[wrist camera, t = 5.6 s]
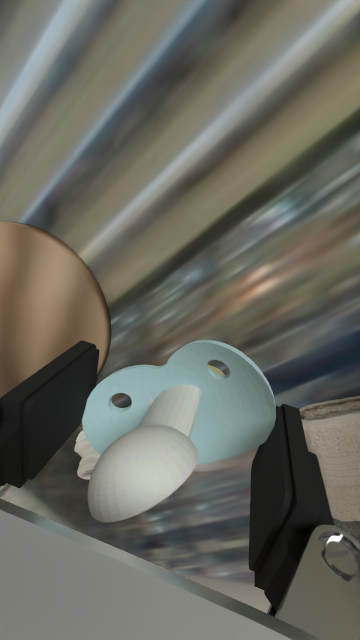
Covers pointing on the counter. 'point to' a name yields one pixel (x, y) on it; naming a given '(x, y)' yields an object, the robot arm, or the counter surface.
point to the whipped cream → (85, 456)
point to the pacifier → (173, 426)
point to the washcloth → (336, 452)
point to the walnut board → (45, 303)
